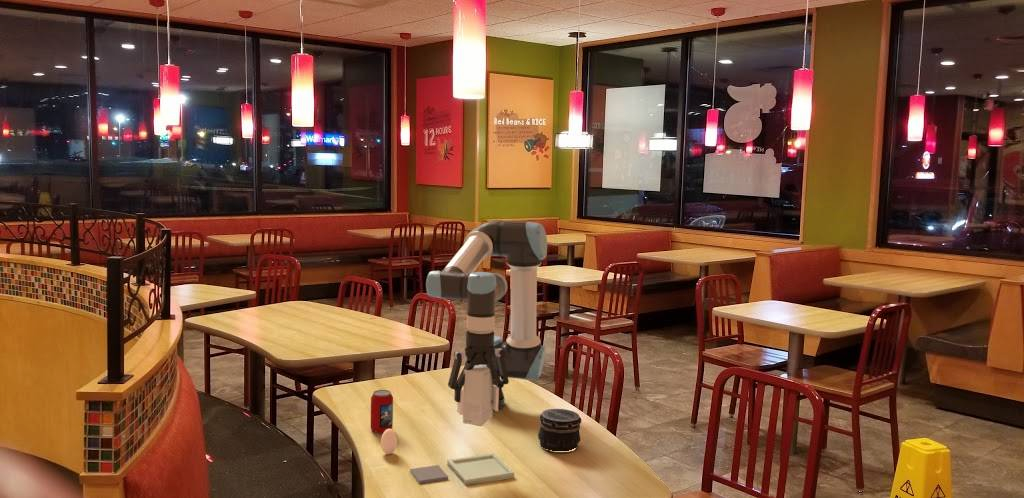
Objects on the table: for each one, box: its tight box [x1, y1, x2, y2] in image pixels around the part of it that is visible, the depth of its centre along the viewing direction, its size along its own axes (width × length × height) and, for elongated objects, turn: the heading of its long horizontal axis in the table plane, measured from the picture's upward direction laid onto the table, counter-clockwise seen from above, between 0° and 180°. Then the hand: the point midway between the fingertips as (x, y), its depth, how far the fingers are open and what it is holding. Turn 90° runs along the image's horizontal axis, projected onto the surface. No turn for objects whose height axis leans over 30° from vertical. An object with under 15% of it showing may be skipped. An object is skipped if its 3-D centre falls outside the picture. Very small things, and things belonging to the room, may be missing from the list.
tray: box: [446, 453, 515, 486], centre depth 216 cm, size 14×14×2 cm
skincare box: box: [462, 365, 494, 427], centre depth 214 cm, size 8×6×15 cm
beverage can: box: [370, 389, 394, 434], centre depth 244 cm, size 7×7×12 cm
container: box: [537, 408, 582, 451], centre depth 236 cm, size 13×13×10 cm
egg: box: [380, 428, 398, 455], centre depth 226 cm, size 5×5×7 cm
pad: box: [409, 464, 449, 485], centre depth 213 cm, size 8×8×1 cm
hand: (477, 411), depth 215 cm, fingers closed on skincare box, 9 cm apart
